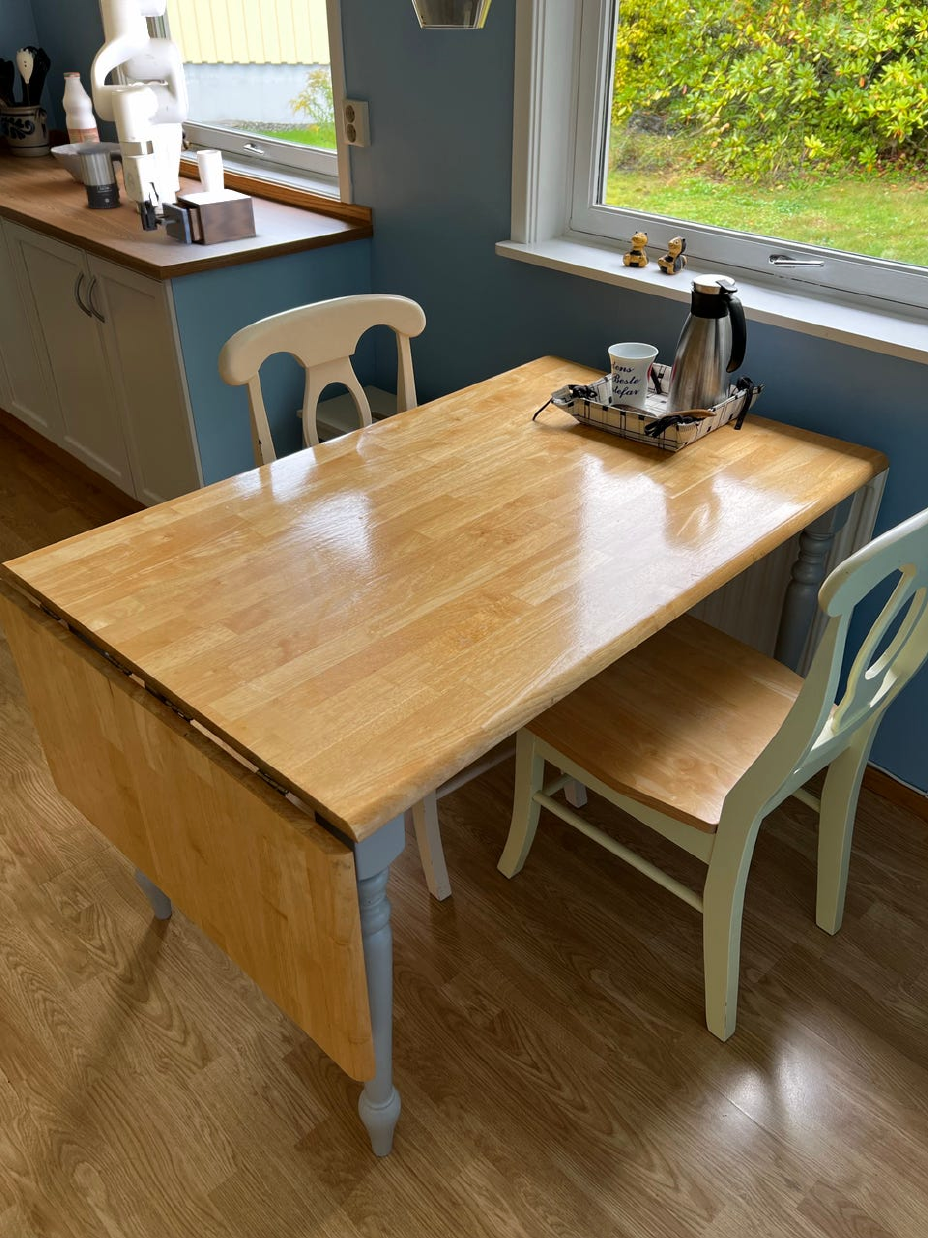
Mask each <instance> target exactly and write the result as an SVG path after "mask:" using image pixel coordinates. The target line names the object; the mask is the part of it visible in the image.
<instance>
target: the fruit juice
mask: <svg viewBox="0 0 928 1238" xmlns="http://www.w3.org/2000/svg"><path fill="white" fill-rule="evenodd" d="M63 77H64V80H65V86H64V94H63V99H62V106H63V108H64V111H65V113H66V116H65V123H66V128H67V132H68V138H69V143H70V144H75V143H83V142H100V137H99V132H98V126H97V122H96V118H95V115H94V114H93V102H92V99H91V97H90V96H89V95H88V94H87V91H86V90H85V89H84V86H83V84H82V83H81V75H80V73H79V72H74V71H73V72H72V71H71V72H64V73H63Z"/></svg>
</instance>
